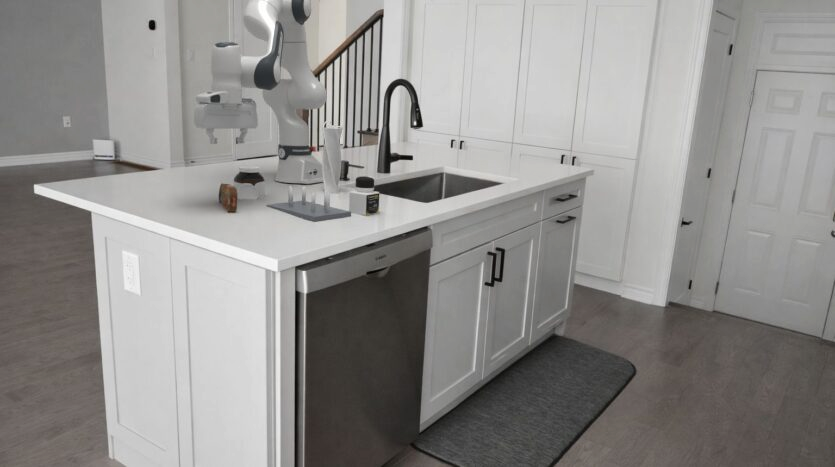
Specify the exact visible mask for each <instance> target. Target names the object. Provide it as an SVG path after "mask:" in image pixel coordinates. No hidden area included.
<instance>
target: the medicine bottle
mask: <svg viewBox="0 0 835 467" xmlns="http://www.w3.org/2000/svg"><path fill="white" fill-rule="evenodd" d="M348 197H349V199H348V200H349V202H348V204H349V205H348V211H350V212H351V214H356V215H358V216H359V215H360V216H364V217H367V216H368V217H369V216H371V215H376V214H379V213H380V212H379V211H380V191H375V178H373V176H366V175H365V176H363V175H362V176H357V177H356V178H355V190H353V191H349V196H348Z"/></svg>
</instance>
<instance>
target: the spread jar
mask: <svg viewBox="0 0 835 467" xmlns="http://www.w3.org/2000/svg"><path fill="white" fill-rule="evenodd" d="M265 183H266V180H265V178H264V176H263V175H262V174H261V173H260V167H259V166H253V165H252V166H250V165H245V166H244V165H243V166H242V165H241V166H238V173H237V174H236V175H235V176H234V178H233V185H232V186H234V187H235V188H236V189H237V194H238V196H237V200H239V201H240V200H255V201H257V199H258V198H261V197H262V198H263V197H264V196H265V194H266V184H265Z"/></svg>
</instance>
